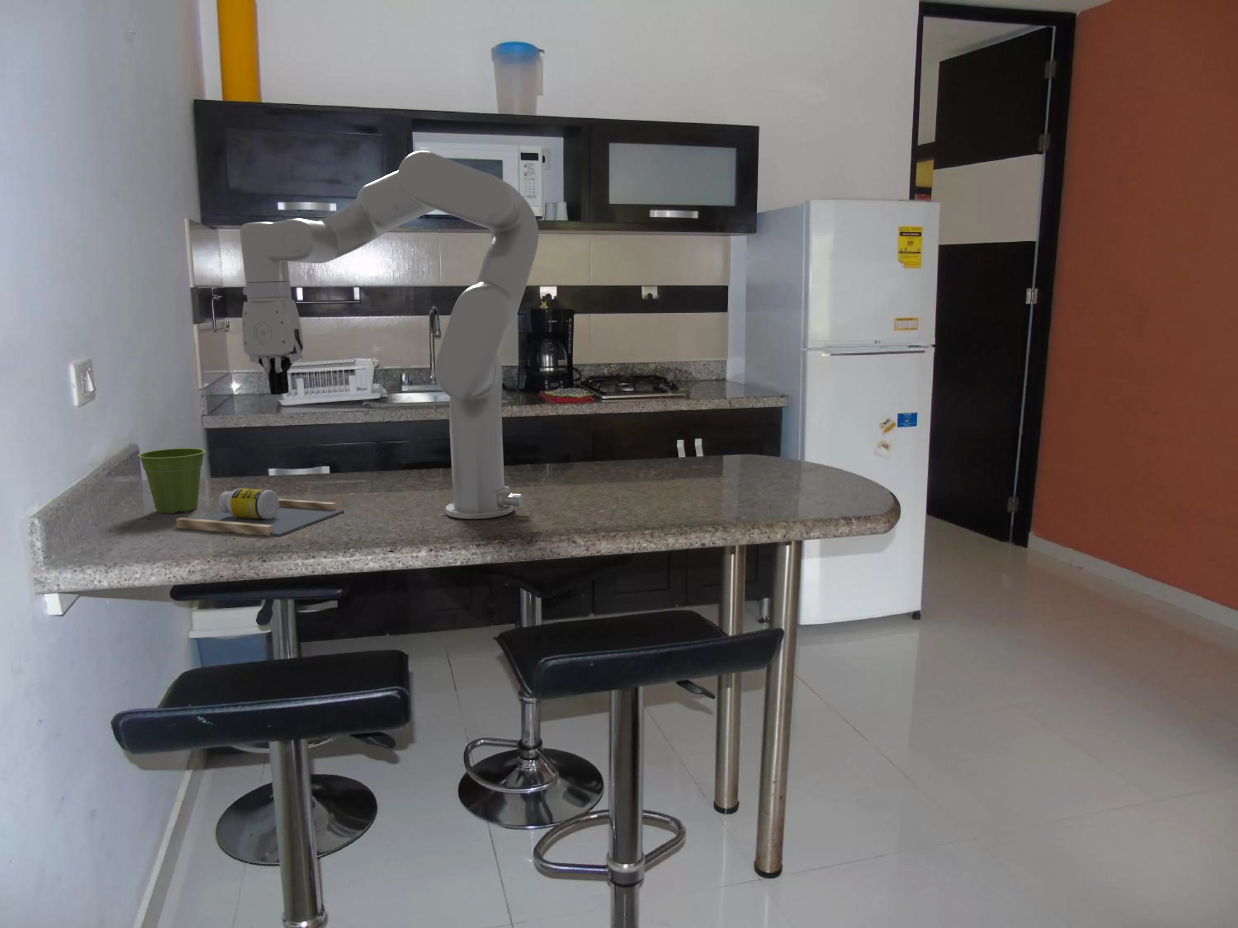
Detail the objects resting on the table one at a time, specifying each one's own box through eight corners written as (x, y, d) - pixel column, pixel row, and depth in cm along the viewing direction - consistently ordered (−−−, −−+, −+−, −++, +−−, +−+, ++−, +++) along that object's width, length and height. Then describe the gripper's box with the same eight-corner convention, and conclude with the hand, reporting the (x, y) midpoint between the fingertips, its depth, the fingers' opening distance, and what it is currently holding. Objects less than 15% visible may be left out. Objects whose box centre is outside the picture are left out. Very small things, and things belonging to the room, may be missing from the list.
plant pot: (202, 515, 173) (196, 456, 171) (134, 518, 172) (127, 459, 170) (218, 501, 185) (212, 446, 183) (155, 504, 183) (149, 448, 181)
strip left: (273, 534, 159) (272, 525, 158) (268, 535, 158) (268, 526, 157) (182, 526, 165) (181, 517, 165) (177, 527, 164) (176, 519, 164)
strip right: (336, 510, 175) (335, 502, 175) (332, 512, 174) (331, 504, 174) (251, 504, 181) (250, 496, 181) (246, 505, 180) (246, 497, 180)
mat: (344, 512, 174) (343, 509, 174) (280, 536, 157) (279, 533, 157) (249, 504, 181) (249, 503, 181) (178, 527, 164) (178, 525, 164)
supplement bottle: (258, 495, 164) (212, 494, 167) (264, 524, 166) (218, 521, 168) (277, 485, 169) (232, 483, 172) (282, 512, 170) (238, 510, 173)
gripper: (220, 294, 165) (232, 396, 169) (290, 291, 161) (301, 396, 164) (248, 294, 172) (259, 391, 176) (316, 291, 168) (326, 391, 171)
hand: (279, 393), depth 170 cm, fingers closed
